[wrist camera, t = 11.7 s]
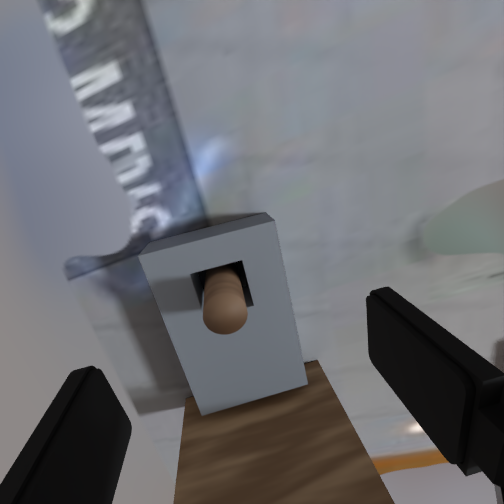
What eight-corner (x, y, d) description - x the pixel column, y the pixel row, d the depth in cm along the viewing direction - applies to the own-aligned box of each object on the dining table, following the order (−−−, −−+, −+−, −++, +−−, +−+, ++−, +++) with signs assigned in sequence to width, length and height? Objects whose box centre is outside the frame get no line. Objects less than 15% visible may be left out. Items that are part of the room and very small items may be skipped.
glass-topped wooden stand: (161, 339, 35) (-147, 1371, 5) (306, 299, 36) (755, 941, 6) (189, 406, 39) (108, 1200, 9) (318, 367, 40) (628, 958, 10)
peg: (201, 262, 32) (196, 302, 23) (233, 253, 32) (241, 290, 23) (210, 290, 34) (209, 339, 24) (241, 282, 34) (252, 327, 24)
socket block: (149, 242, 31) (137, 256, 26) (265, 212, 31) (274, 220, 27) (203, 384, 38) (201, 415, 33) (296, 357, 39) (308, 384, 34)
